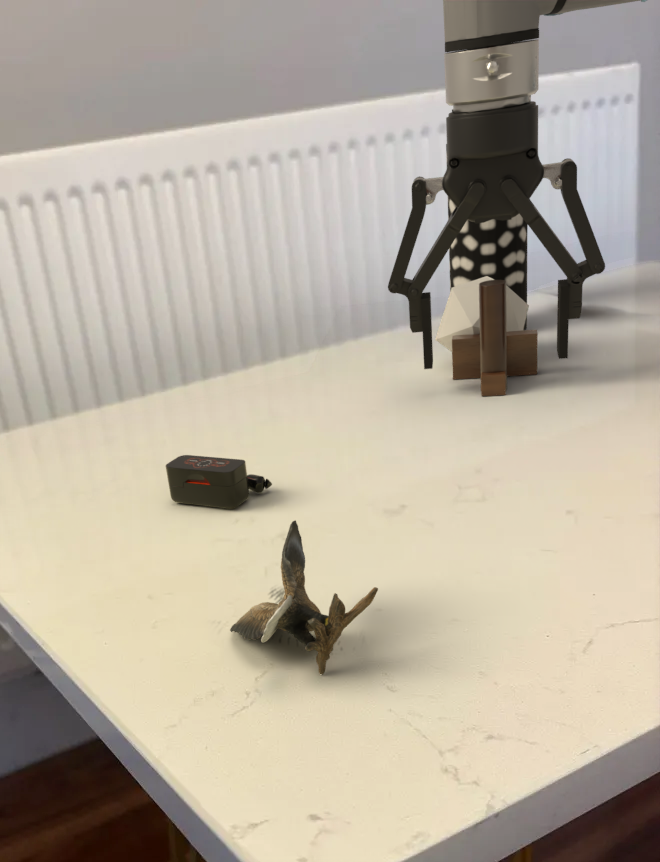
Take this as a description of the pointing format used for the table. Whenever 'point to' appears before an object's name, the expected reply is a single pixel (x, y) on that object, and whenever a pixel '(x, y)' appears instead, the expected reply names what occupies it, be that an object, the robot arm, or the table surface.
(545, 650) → the table surface
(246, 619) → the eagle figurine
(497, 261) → the spotted tube
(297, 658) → the table surface
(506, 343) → the wooden block stack
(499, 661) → the table surface
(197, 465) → the wireless earbuds
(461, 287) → the die
